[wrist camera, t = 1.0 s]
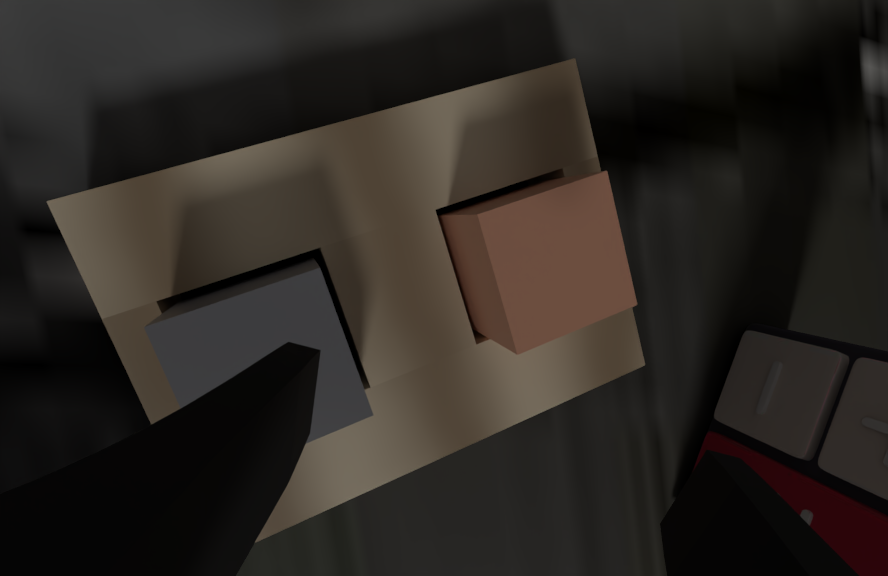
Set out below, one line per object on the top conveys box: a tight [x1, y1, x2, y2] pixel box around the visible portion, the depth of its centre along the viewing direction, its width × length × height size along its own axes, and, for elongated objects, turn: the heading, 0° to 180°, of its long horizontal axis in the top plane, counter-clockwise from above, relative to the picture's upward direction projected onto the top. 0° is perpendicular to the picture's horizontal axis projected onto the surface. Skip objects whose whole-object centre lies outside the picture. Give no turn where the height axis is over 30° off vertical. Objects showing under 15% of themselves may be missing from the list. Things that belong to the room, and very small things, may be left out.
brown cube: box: [438, 171, 637, 355], centre depth 17 cm, size 4×4×4 cm
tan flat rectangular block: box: [46, 58, 645, 543], centre depth 19 cm, size 17×12×3 cm
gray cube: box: [144, 257, 373, 443], centre depth 15 cm, size 4×4×4 cm
